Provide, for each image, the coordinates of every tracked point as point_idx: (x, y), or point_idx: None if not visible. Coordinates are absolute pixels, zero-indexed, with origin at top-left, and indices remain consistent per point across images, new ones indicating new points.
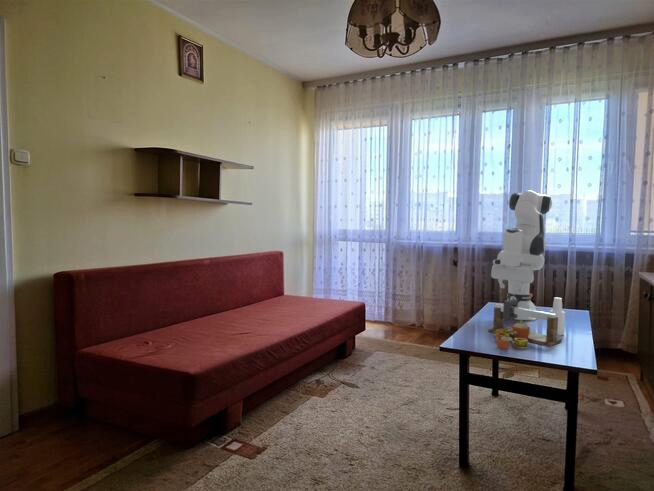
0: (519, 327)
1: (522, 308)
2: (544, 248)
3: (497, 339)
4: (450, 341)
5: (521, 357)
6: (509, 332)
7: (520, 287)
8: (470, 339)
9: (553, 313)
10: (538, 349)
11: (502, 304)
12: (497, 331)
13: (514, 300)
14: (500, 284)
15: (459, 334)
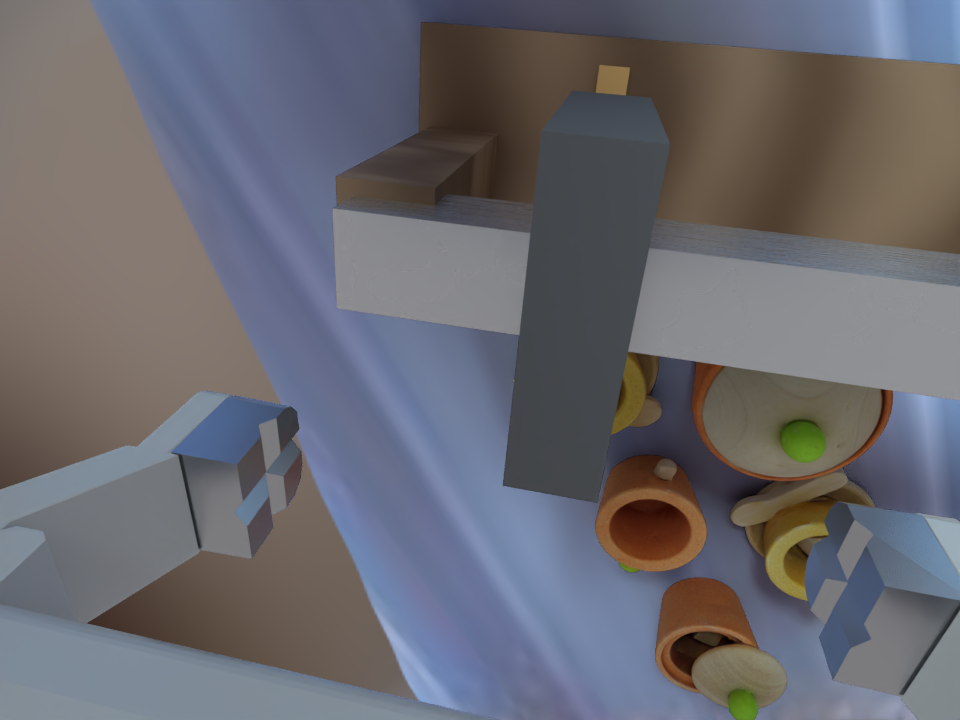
0: (787, 476)
1: (806, 310)
2: None
3: (675, 681)
4: (400, 653)
5: (860, 708)
6: None
7: (913, 705)
8: (453, 561)
9: None
10: (956, 508)
11: (402, 222)
12: None
13: (627, 281)
14: (166, 551)
15: (335, 502)
